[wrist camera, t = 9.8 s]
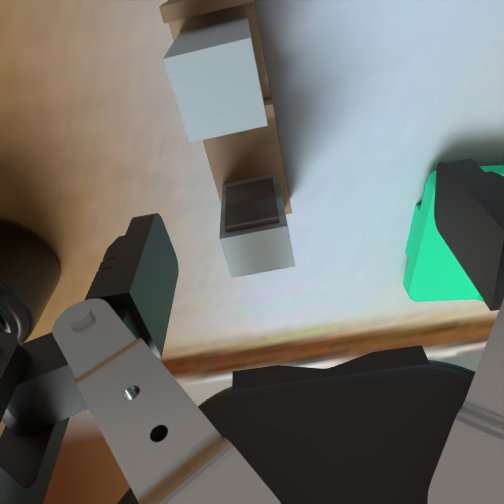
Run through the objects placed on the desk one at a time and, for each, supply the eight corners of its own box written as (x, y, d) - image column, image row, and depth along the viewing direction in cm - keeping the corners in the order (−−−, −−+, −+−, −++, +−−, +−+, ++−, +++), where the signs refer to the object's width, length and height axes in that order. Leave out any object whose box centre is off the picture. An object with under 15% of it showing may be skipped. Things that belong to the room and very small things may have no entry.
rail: (249, -21, 25) (255, -6, 18) (289, 200, 34) (304, 271, 26) (167, -1, 25) (140, 22, 18) (227, 212, 34) (225, 285, 27)
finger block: (247, 15, 24) (250, 37, 19) (261, 87, 27) (267, 126, 21) (179, 32, 25) (162, 58, 19) (199, 101, 27) (189, 143, 21)
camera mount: (424, 161, 32) (489, 237, 24) (524, 157, 32) (623, 231, 24) (397, 283, 39) (440, 374, 31) (479, 279, 39) (544, 369, 31)
